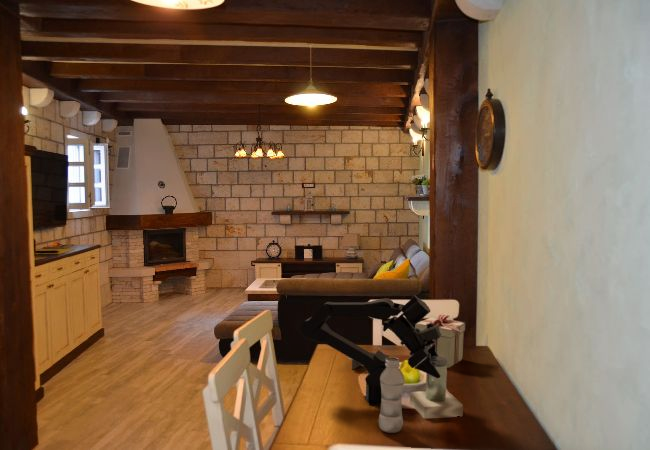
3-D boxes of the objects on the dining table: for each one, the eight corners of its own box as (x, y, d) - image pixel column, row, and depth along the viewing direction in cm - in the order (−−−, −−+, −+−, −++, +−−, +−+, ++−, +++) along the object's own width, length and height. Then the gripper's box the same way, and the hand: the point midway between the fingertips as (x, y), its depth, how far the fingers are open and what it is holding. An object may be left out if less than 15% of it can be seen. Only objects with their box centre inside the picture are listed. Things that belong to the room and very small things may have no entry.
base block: (424, 418, 156) (424, 406, 156) (409, 402, 168) (410, 391, 168) (462, 416, 159) (462, 404, 158) (445, 400, 170) (446, 390, 170)
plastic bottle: (376, 425, 151) (378, 355, 150) (399, 425, 151) (401, 355, 150) (380, 436, 144) (382, 363, 143) (405, 435, 145) (407, 362, 144)
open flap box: (384, 365, 206) (384, 348, 206) (361, 378, 191) (362, 360, 191) (357, 359, 213) (357, 343, 212) (333, 371, 198) (333, 354, 197)
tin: (434, 403, 159) (436, 363, 158) (421, 396, 164) (422, 357, 164) (450, 399, 162) (451, 360, 161) (436, 392, 167) (437, 355, 167)
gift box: (459, 370, 201) (461, 325, 200) (412, 362, 210) (414, 318, 209) (471, 359, 215) (473, 316, 214) (427, 351, 225) (428, 310, 224)
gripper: (420, 323, 154) (458, 365, 151) (429, 310, 172) (464, 348, 169) (392, 346, 157) (429, 389, 154) (404, 331, 175) (437, 369, 172)
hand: (441, 372), depth 162 cm, fingers open, 9 cm apart
